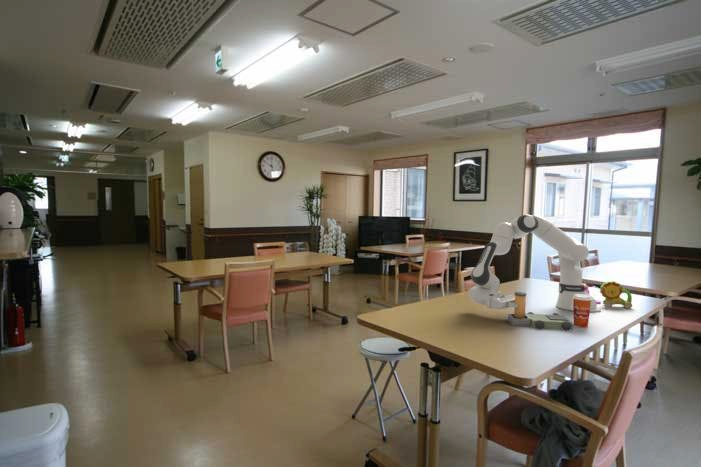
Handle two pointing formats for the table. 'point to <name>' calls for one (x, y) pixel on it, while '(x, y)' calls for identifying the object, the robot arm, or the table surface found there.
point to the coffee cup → (581, 309)
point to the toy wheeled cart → (550, 321)
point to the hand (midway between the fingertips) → (521, 305)
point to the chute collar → (520, 320)
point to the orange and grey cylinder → (520, 305)
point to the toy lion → (615, 294)
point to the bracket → (595, 300)
